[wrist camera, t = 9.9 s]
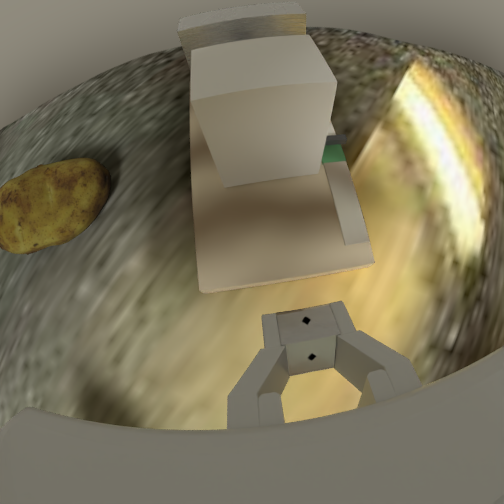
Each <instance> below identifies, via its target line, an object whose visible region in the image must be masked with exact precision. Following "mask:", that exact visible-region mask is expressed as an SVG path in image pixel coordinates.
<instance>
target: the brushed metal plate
mask: <svg viewBox="0 0 504 504" xmlns="http://www.w3.org/2000/svg"><path fill="white" fill-rule="evenodd" d="M177 32H178V35H179V38H180V41H181V44H182V47H183V50H184V53H185V55H186V58H187V61H188V64H189V67H190V70H191V50H195V49H199V48H203V47H208V46H213V45H218V44H223V43H228V42H234V41H241V40H248V39H256V38H265V37H275V36H289V35H305V34H306V13H305V12H304V10H303V9H302V8H301V7H300V6H299V4H298V3H297V2H278V3H264V4H253V5H245V6H238V7H231V8H225V9H219V10H214V11H209V12H204V13H199V14H195V15H191V16H187V17H183V18H180V19H179V24H178V30H177Z"/></svg>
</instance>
